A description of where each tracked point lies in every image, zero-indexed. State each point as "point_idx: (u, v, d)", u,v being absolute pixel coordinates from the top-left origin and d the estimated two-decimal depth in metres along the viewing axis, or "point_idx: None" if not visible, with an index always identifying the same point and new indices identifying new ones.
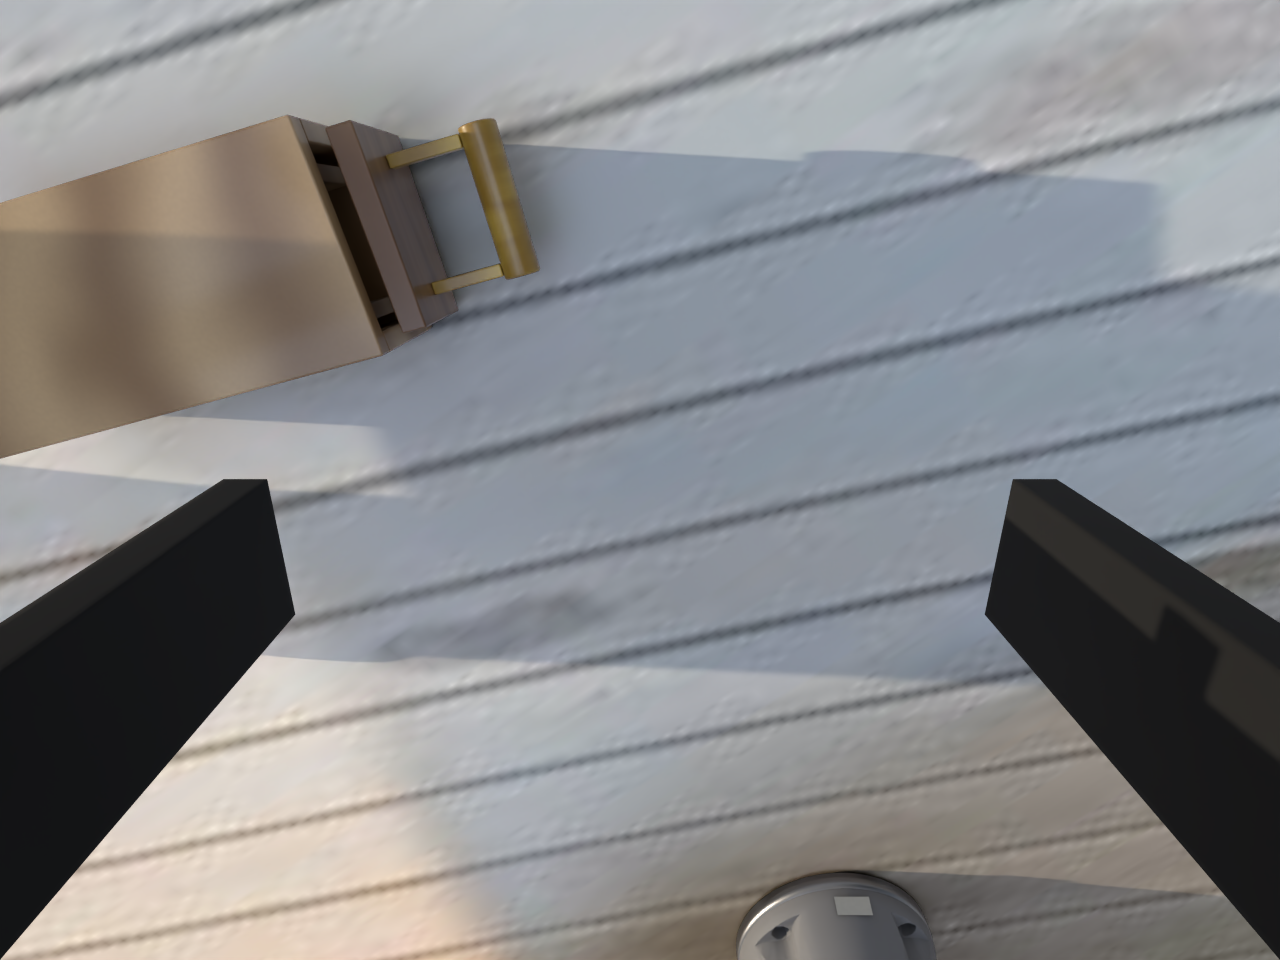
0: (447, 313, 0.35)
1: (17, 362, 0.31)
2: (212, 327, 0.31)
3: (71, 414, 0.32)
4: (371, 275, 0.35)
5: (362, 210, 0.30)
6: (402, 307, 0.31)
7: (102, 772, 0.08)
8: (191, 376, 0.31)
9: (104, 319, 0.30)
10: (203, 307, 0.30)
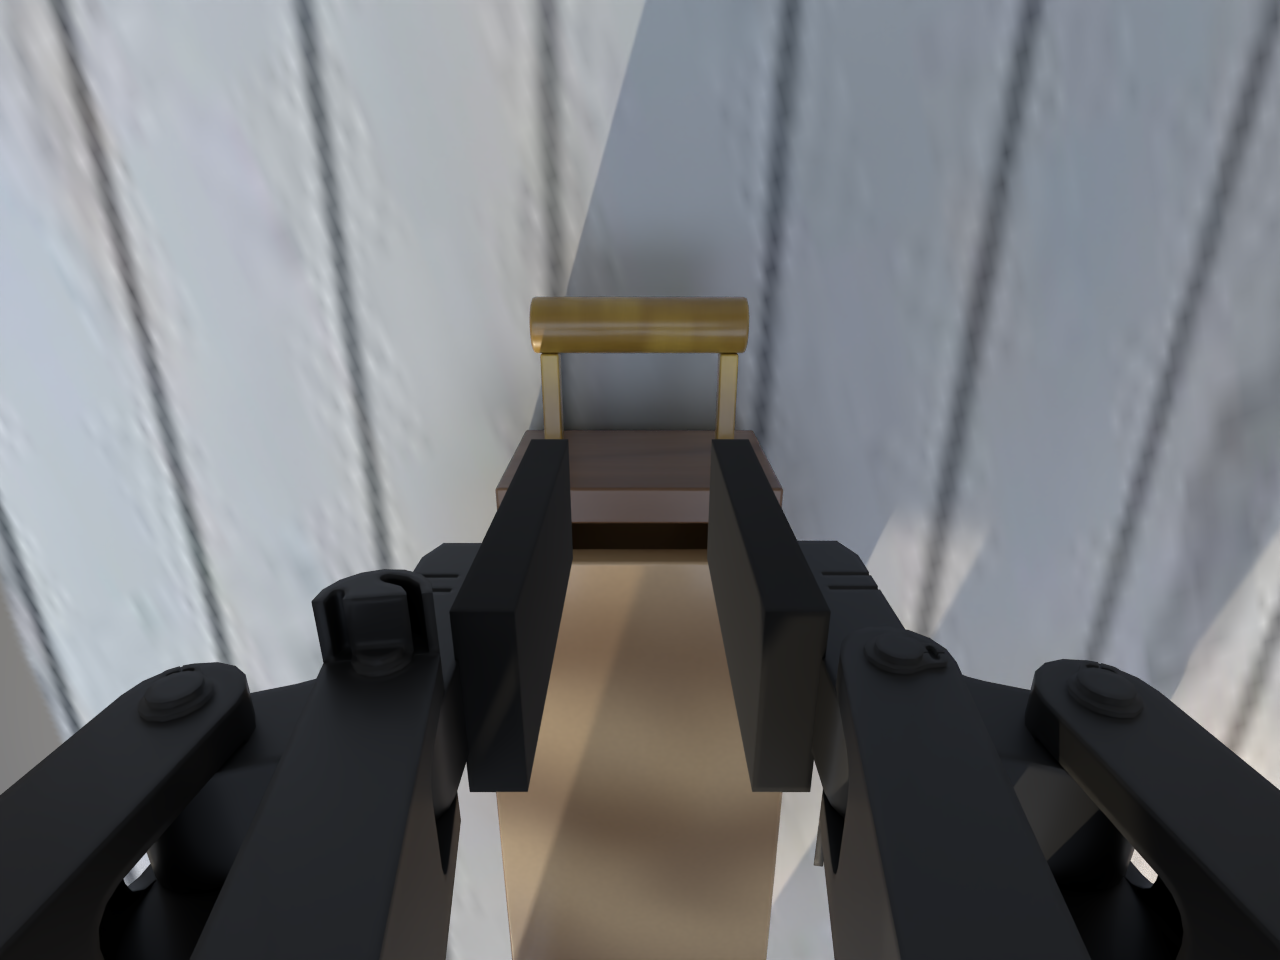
0: (759, 448, 0.25)
1: (668, 934, 0.27)
2: (696, 744, 0.23)
3: (742, 915, 0.26)
4: (679, 523, 0.27)
5: (607, 515, 0.21)
6: None
7: (542, 658, 0.10)
8: (745, 788, 0.24)
9: (650, 842, 0.25)
10: (670, 742, 0.23)
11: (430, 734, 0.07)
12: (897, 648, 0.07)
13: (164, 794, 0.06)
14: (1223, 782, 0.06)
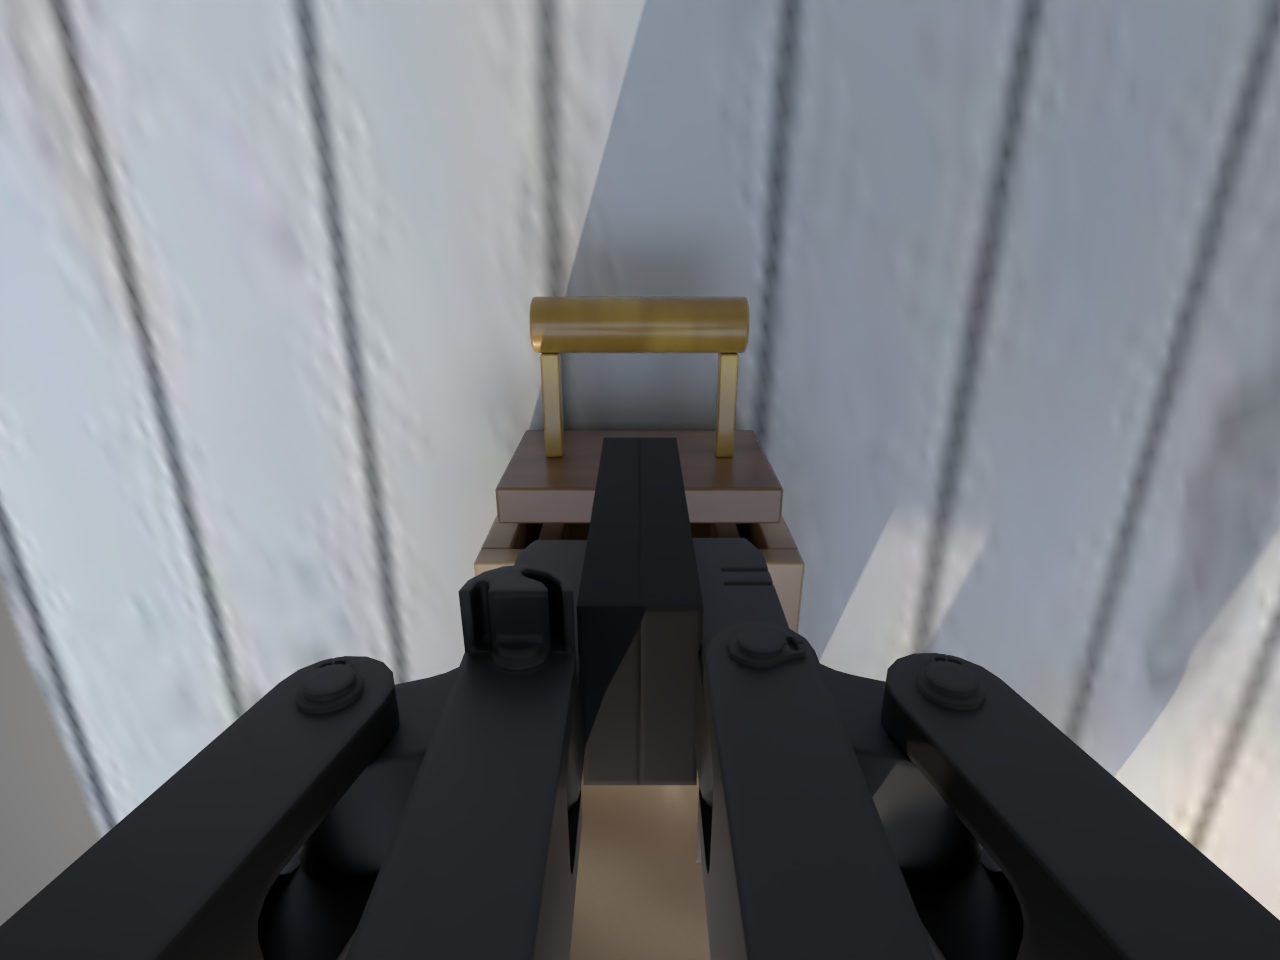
0: (759, 448, 0.25)
1: (668, 934, 0.27)
2: None
3: None
4: None
5: None
6: (745, 511, 0.21)
7: None
8: None
9: (650, 842, 0.25)
10: None
11: (567, 733, 0.07)
12: (757, 642, 0.07)
13: (320, 790, 0.06)
14: (1056, 769, 0.06)
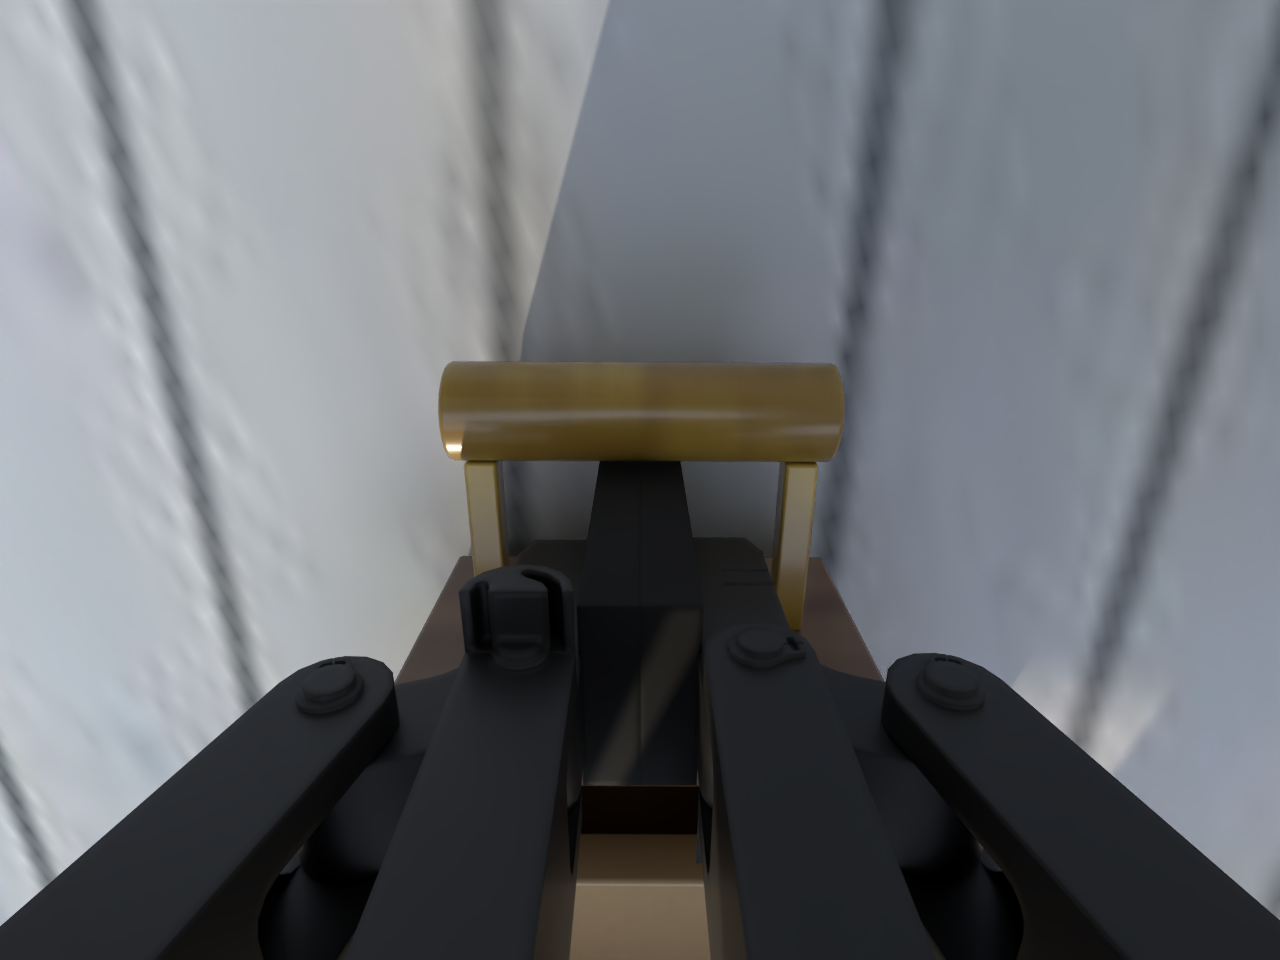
0: (841, 605, 0.15)
1: None
2: None
3: None
4: None
5: None
6: None
7: None
8: None
9: None
10: None
11: (567, 733, 0.07)
12: (758, 642, 0.07)
13: (320, 789, 0.06)
14: (1056, 769, 0.06)
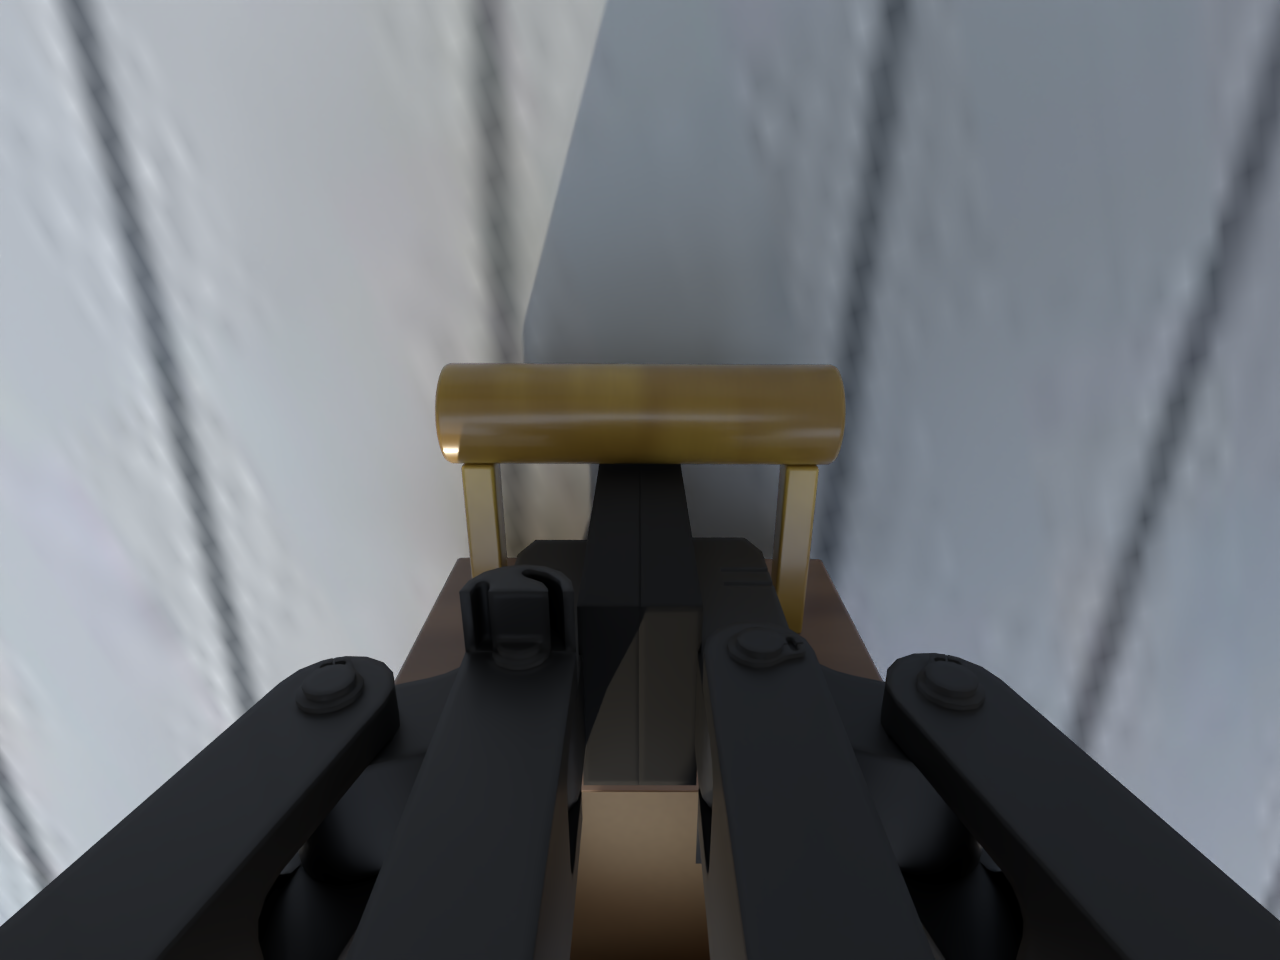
0: (841, 608, 0.15)
1: None
2: None
3: None
4: None
5: None
6: None
7: None
8: None
9: None
10: None
11: (568, 733, 0.07)
12: (756, 642, 0.07)
13: (320, 789, 0.06)
14: (1055, 767, 0.06)
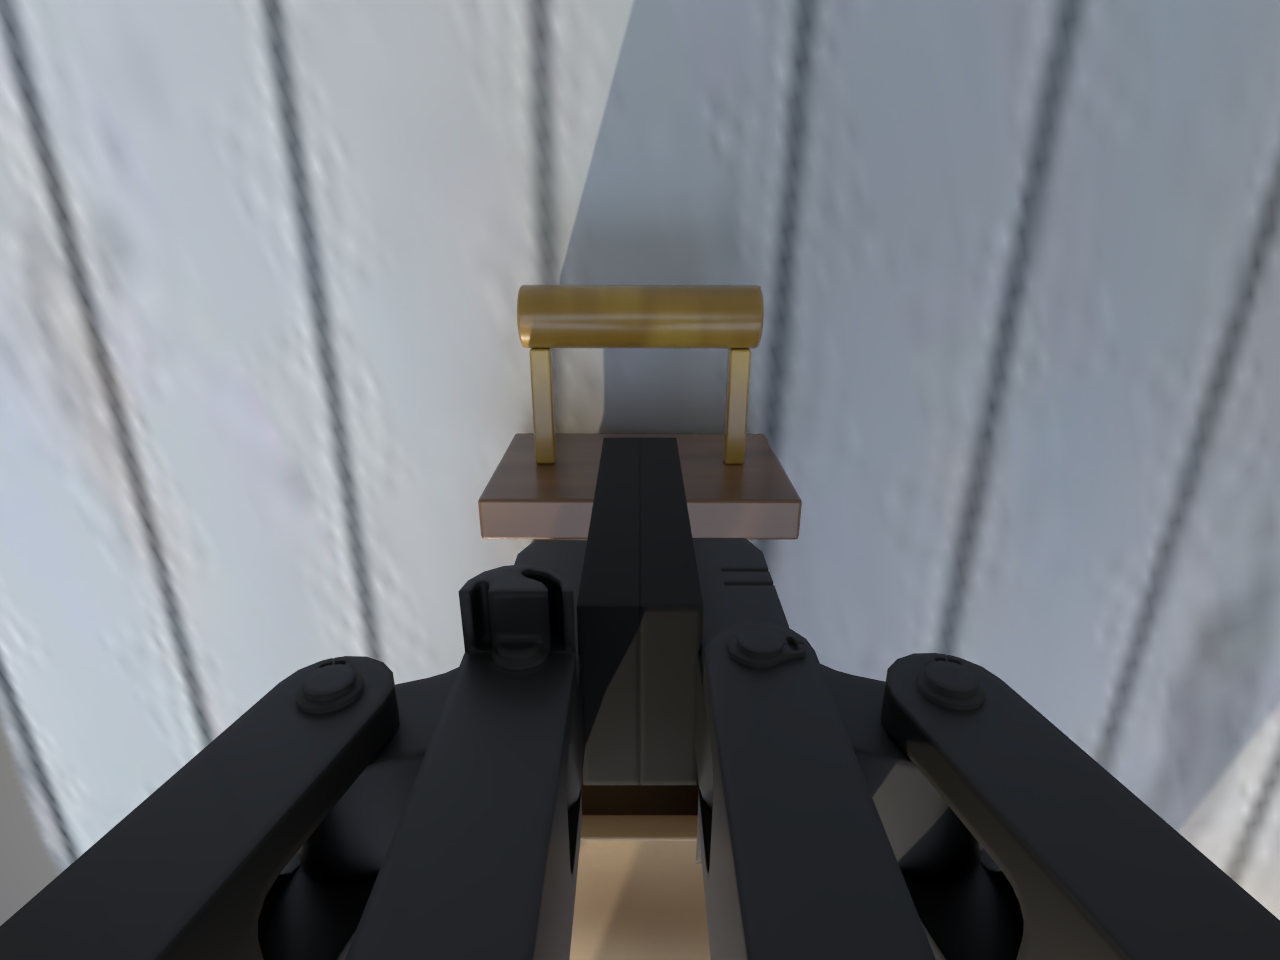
0: (772, 454, 0.22)
1: None
2: None
3: None
4: None
5: None
6: (758, 525, 0.19)
7: None
8: None
9: None
10: None
11: (567, 733, 0.07)
12: (757, 642, 0.07)
13: (320, 789, 0.06)
14: (1056, 767, 0.06)
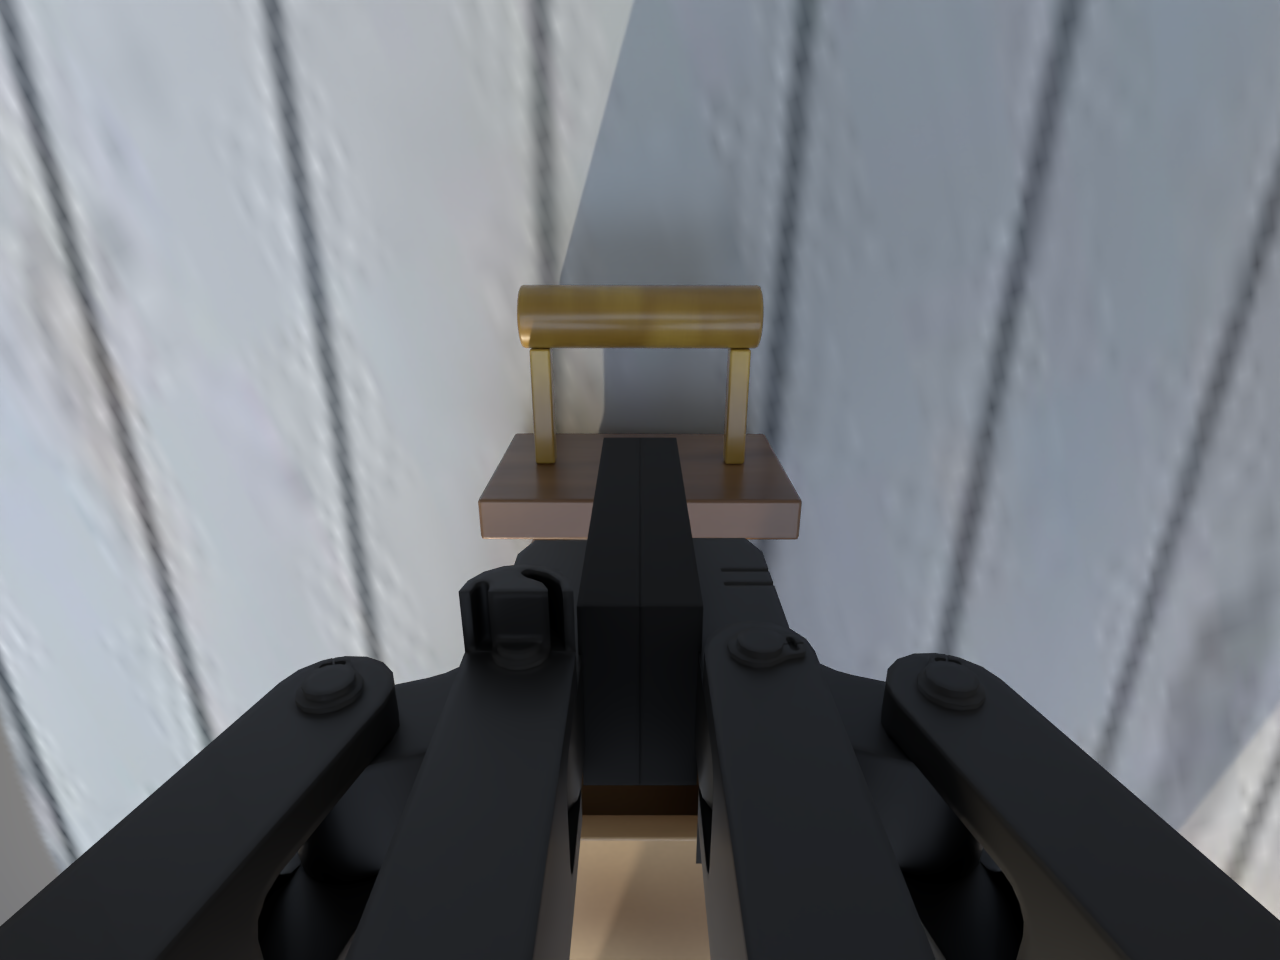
0: (772, 454, 0.22)
1: None
2: None
3: None
4: None
5: None
6: (758, 525, 0.19)
7: None
8: None
9: None
10: None
11: (567, 733, 0.07)
12: (757, 642, 0.07)
13: (320, 789, 0.06)
14: (1056, 767, 0.06)
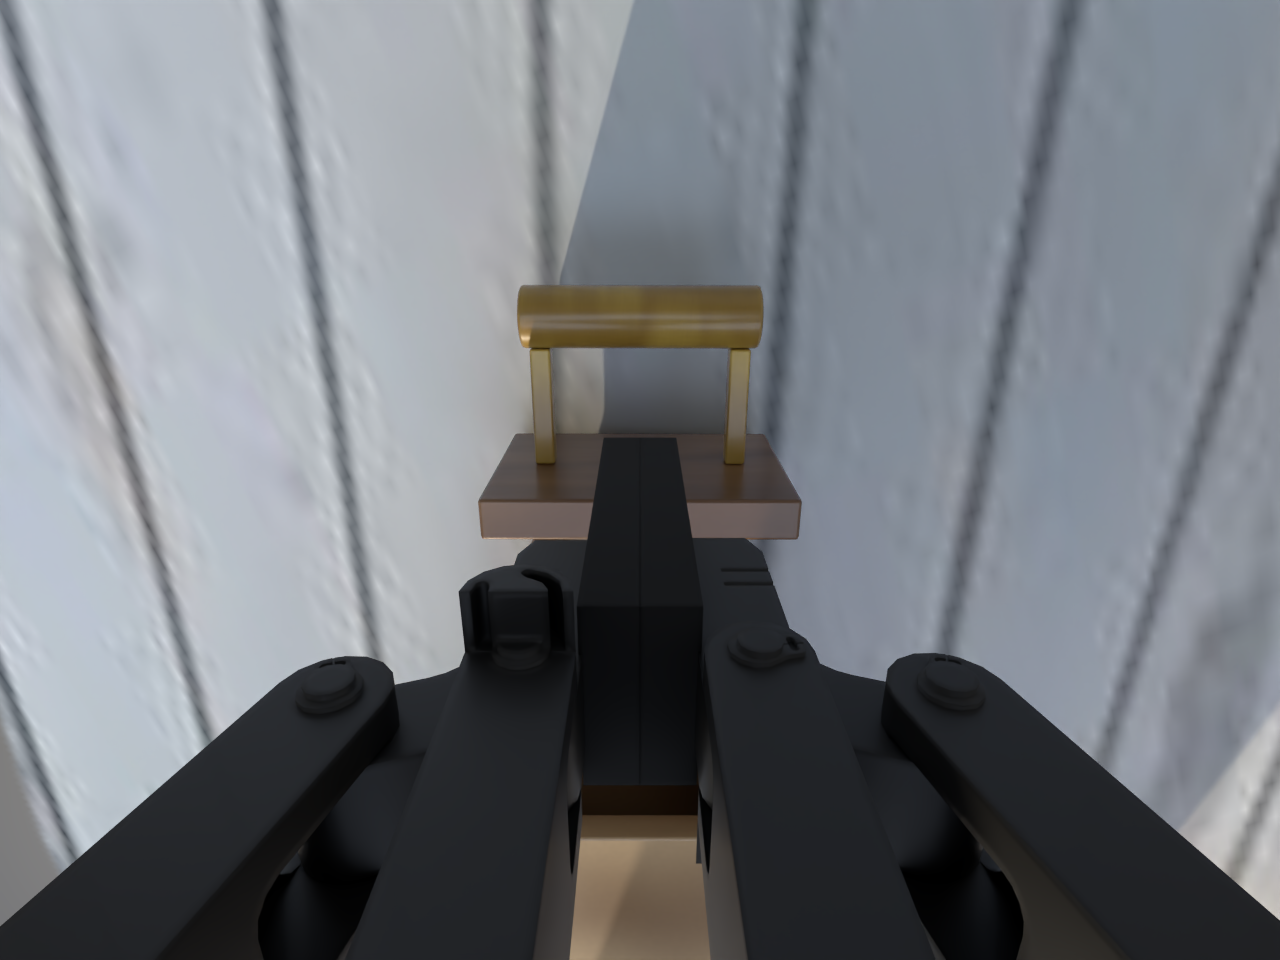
0: (772, 454, 0.22)
1: None
2: None
3: None
4: None
5: None
6: (758, 525, 0.19)
7: None
8: None
9: None
10: None
11: (567, 733, 0.07)
12: (757, 642, 0.07)
13: (320, 789, 0.06)
14: (1056, 767, 0.06)
